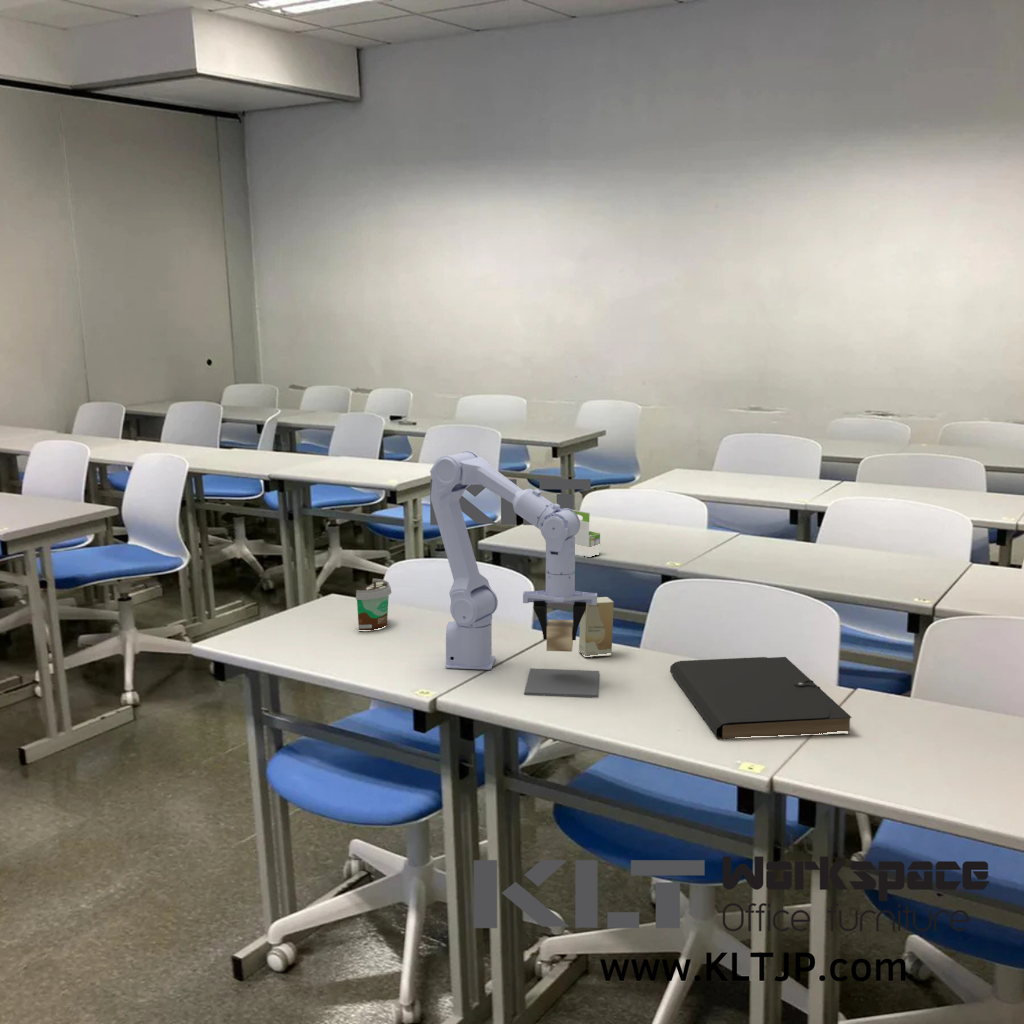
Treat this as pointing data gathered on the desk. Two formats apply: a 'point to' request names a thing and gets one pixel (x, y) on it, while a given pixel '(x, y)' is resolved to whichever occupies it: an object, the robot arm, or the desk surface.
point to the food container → (373, 605)
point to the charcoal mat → (562, 683)
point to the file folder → (758, 697)
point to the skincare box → (597, 628)
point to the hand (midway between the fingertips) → (559, 638)
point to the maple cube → (559, 635)
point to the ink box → (586, 532)
